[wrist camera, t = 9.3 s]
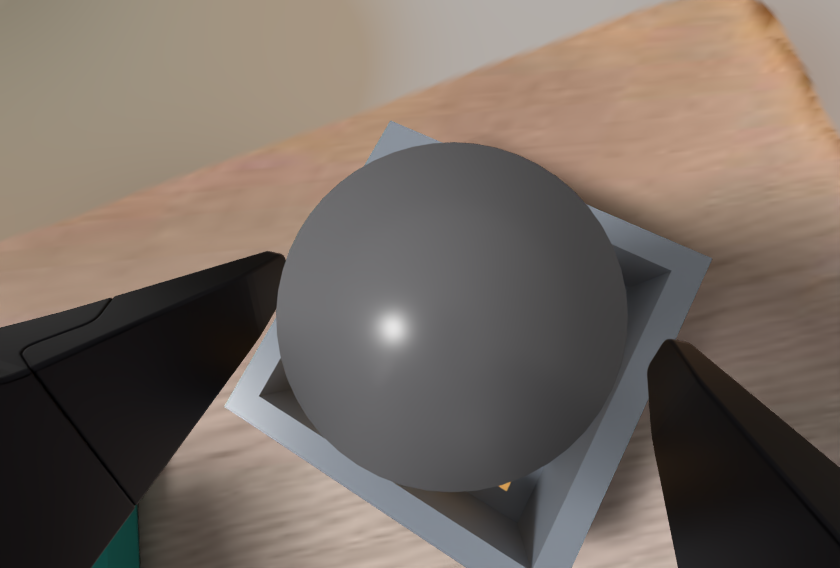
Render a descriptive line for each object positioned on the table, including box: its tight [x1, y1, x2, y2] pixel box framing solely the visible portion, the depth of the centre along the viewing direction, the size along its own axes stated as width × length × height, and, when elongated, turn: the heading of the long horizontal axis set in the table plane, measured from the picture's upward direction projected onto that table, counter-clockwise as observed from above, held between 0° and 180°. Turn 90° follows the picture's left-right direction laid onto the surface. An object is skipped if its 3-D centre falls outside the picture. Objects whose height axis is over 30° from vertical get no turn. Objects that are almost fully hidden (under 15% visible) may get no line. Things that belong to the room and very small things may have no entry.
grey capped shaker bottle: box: [276, 142, 628, 492], centre depth 11 cm, size 4×4×12 cm
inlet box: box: [224, 121, 712, 568], centre depth 16 cm, size 13×13×4 cm
